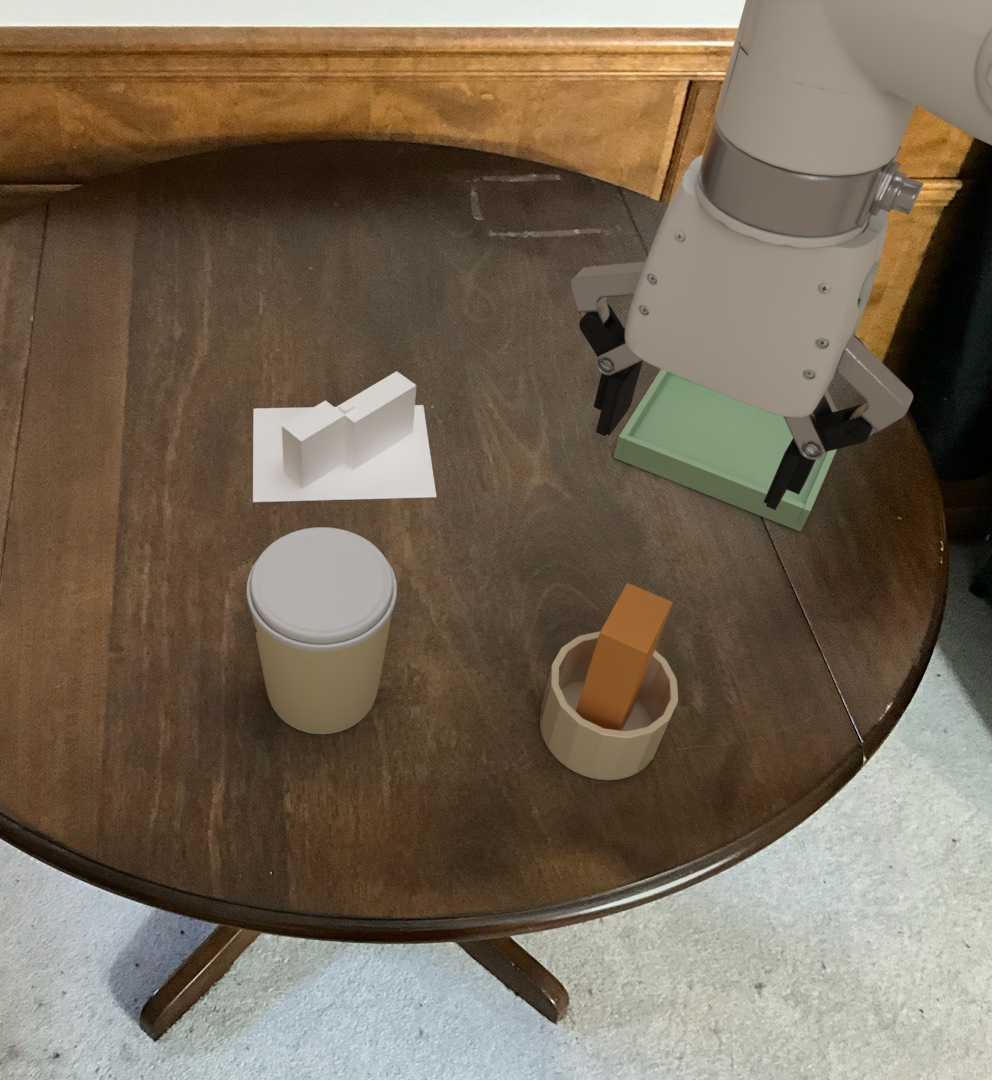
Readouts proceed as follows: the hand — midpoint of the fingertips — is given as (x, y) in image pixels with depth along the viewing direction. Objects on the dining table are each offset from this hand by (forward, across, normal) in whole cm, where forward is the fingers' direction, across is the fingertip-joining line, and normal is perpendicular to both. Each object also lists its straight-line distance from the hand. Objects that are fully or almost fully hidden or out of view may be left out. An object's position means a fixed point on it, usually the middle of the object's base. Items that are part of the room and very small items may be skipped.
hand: (693, 455), depth 61 cm
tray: (+24, +2, -29) cm, 38 cm away
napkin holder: (+24, +29, -10) cm, 39 cm away
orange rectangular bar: (+23, 0, +3) cm, 23 cm away
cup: (+24, 0, +3) cm, 24 cm away
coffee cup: (+24, +17, +11) cm, 31 cm away
